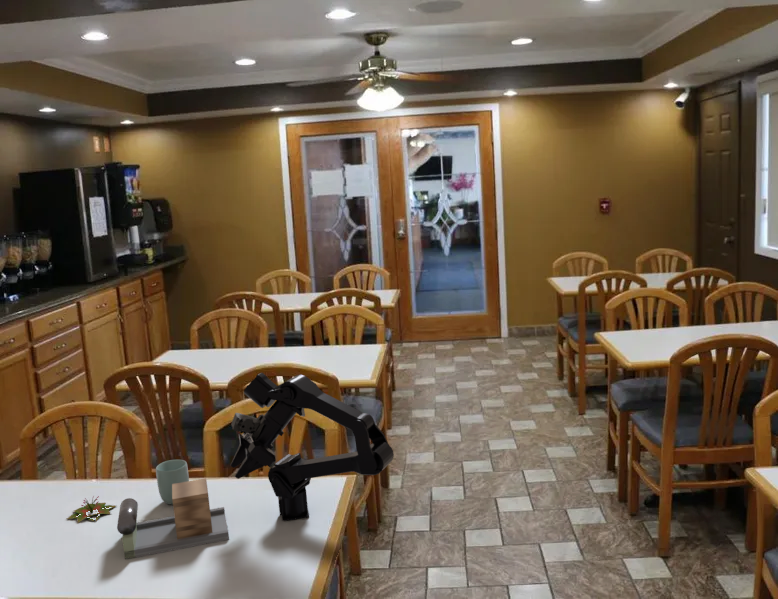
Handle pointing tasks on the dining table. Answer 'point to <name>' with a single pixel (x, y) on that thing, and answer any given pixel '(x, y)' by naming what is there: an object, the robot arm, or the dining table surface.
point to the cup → (170, 477)
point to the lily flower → (90, 508)
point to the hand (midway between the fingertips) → (234, 472)
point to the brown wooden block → (191, 508)
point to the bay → (162, 532)
